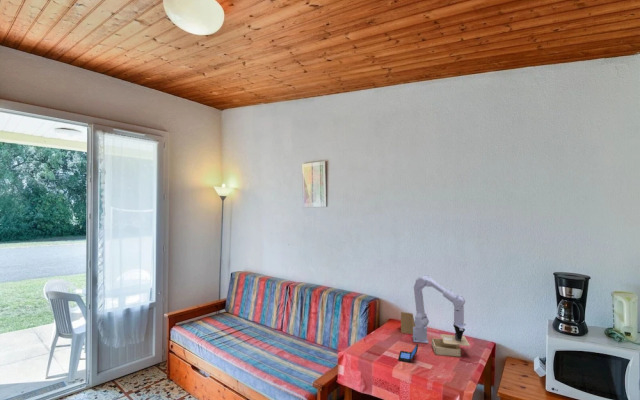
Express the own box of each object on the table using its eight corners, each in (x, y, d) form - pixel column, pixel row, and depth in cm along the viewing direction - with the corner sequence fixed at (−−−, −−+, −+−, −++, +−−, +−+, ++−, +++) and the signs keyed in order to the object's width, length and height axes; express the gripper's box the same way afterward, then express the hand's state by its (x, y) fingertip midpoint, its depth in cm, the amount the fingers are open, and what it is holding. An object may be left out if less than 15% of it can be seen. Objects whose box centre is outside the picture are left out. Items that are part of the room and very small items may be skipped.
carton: (435, 354, 197) (435, 347, 197) (431, 345, 211) (431, 338, 211) (460, 357, 194) (460, 349, 194) (455, 347, 208) (456, 340, 208)
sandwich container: (416, 327, 242) (416, 307, 242) (412, 334, 228) (412, 313, 228) (404, 325, 246) (404, 306, 246) (400, 332, 232) (400, 311, 232)
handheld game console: (400, 352, 200) (400, 340, 200) (418, 355, 196) (418, 343, 197) (397, 361, 189) (398, 348, 189) (416, 364, 185) (416, 351, 185)
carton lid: (444, 343, 196) (444, 337, 196) (440, 334, 210) (440, 328, 210) (470, 346, 193) (470, 339, 193) (464, 337, 207) (464, 330, 207)
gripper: (468, 320, 193) (468, 343, 193) (462, 313, 207) (462, 334, 207) (456, 319, 195) (456, 342, 194) (451, 312, 209) (451, 333, 209)
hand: (458, 337), depth 201 cm, fingers closed on carton lid, 3 cm apart
